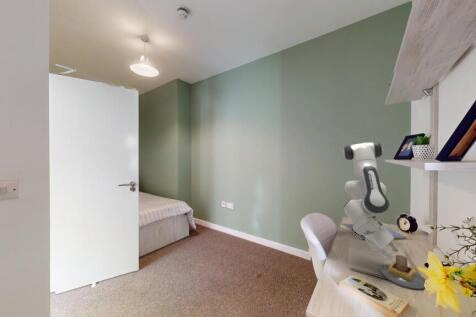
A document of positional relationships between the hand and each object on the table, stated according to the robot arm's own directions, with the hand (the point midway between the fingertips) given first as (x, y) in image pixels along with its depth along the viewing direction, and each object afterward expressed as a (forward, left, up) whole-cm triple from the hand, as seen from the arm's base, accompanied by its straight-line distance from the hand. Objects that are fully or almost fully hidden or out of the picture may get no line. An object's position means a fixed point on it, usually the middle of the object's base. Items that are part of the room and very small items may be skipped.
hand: (394, 254), depth 88 cm
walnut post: (0, +3, -8) cm, 8 cm away
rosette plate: (0, +3, -9) cm, 10 cm away
